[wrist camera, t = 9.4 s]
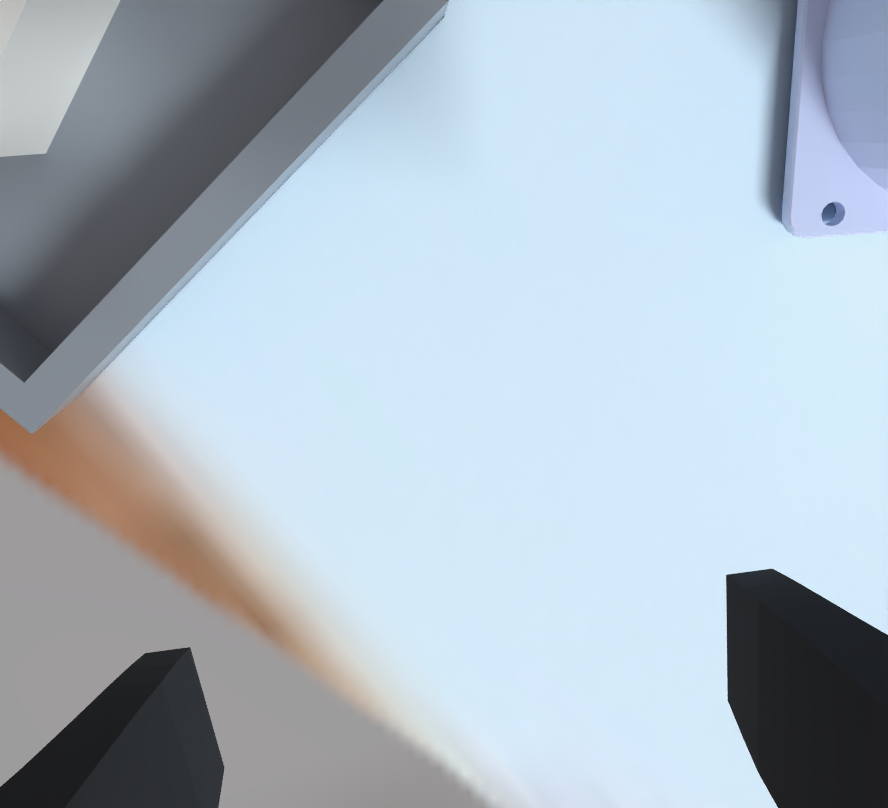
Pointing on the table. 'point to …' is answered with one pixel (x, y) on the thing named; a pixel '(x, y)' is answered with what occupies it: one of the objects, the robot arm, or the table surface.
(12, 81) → the collar
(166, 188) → the tray
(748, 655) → the robot arm
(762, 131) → the table surface
